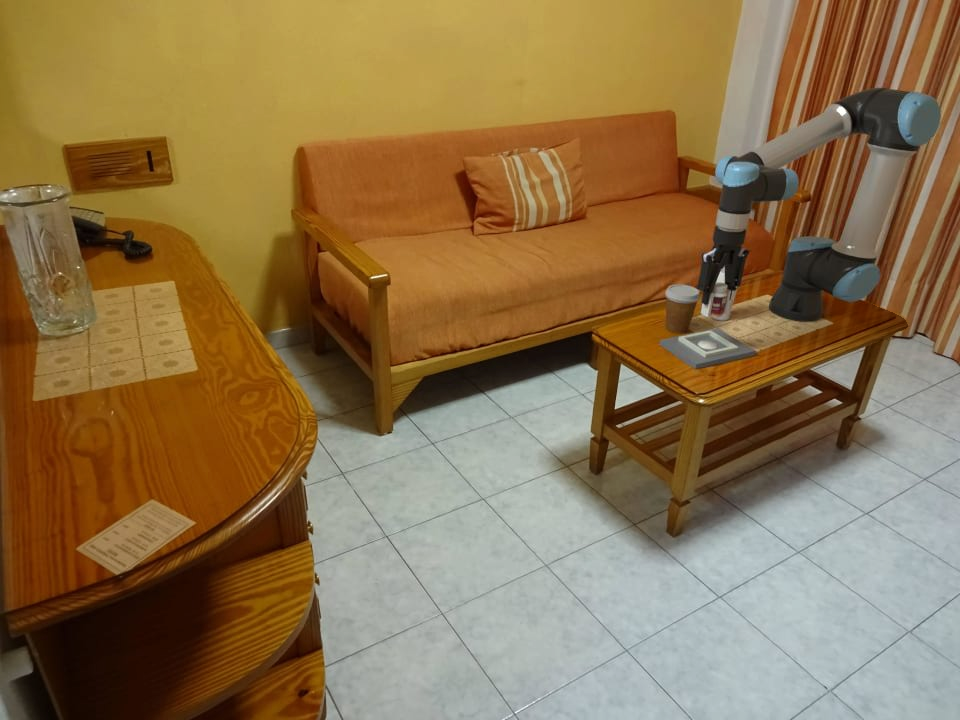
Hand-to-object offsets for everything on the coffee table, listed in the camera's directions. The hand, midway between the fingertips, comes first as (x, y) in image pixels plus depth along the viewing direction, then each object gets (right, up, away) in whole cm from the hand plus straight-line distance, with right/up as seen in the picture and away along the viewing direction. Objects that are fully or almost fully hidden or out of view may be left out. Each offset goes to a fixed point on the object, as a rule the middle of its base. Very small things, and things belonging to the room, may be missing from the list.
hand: (713, 313), depth 179 cm
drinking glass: (+10, 0, +24) cm, 26 cm away
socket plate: (0, -10, +5) cm, 11 cm away
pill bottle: (0, 0, 0) cm, 1 cm away
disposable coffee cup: (-5, -4, +17) cm, 18 cm away
